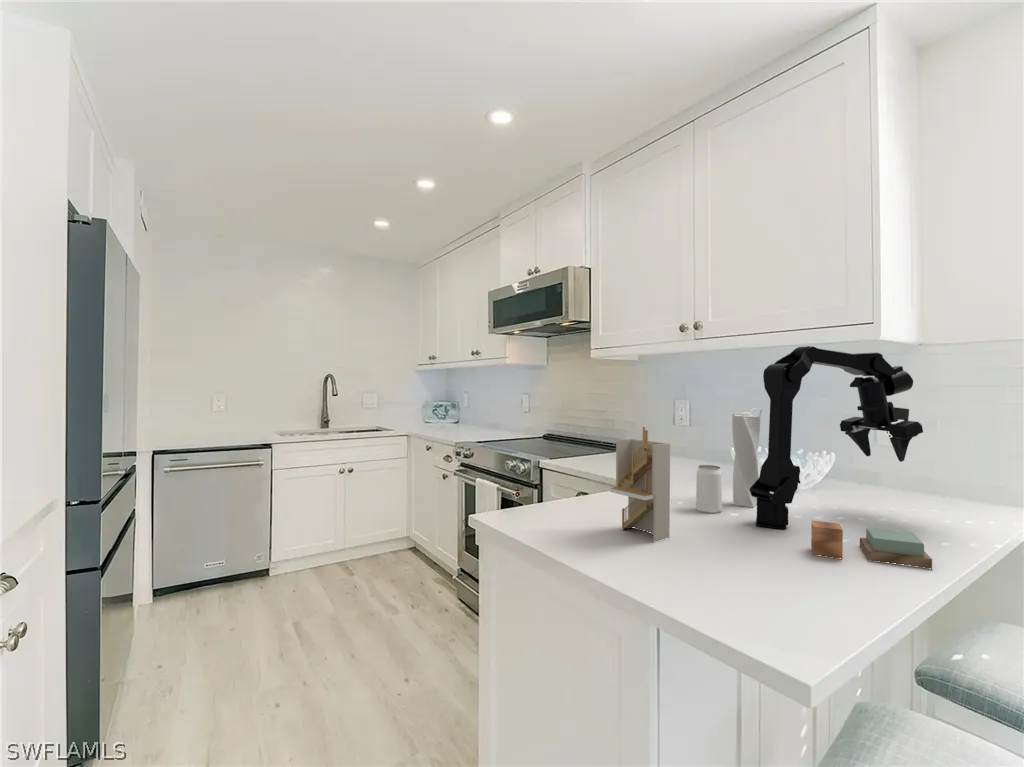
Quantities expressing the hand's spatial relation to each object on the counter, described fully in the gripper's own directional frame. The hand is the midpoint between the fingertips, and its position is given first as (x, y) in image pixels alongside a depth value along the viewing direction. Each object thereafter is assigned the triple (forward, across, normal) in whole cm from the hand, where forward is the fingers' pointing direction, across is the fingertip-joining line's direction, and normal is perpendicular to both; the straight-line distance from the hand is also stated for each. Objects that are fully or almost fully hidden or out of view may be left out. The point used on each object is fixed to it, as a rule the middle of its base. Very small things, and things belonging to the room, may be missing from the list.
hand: (884, 458), depth 133 cm
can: (+5, +16, +43) cm, 46 cm away
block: (+6, -20, +40) cm, 45 cm away
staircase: (-1, 0, +71) cm, 71 cm away
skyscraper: (+9, +20, +29) cm, 36 cm away
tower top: (+7, -24, +28) cm, 38 cm away
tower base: (+9, -24, +29) cm, 39 cm away
